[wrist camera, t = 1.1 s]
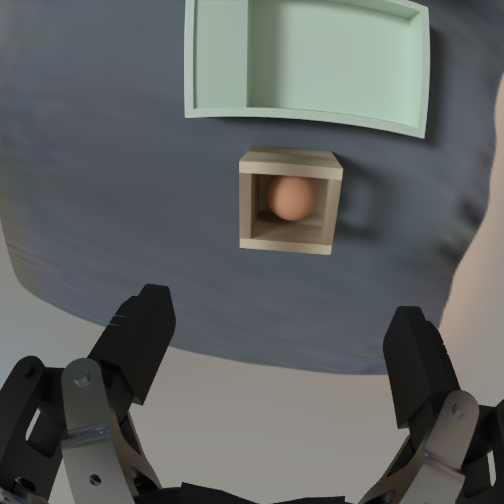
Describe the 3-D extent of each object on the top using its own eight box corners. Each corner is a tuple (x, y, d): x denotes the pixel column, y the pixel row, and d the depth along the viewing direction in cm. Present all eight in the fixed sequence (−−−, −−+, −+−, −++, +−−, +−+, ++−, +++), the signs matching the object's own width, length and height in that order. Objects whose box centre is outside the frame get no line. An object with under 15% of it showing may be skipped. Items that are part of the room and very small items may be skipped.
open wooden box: (251, 214, 23) (239, 247, 19) (251, 145, 20) (239, 161, 16) (323, 220, 23) (330, 254, 18) (331, 151, 20) (343, 169, 15)
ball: (266, 163, 20) (268, 177, 17) (314, 165, 20) (325, 180, 17) (264, 207, 22) (266, 229, 19) (310, 208, 22) (319, 230, 19)
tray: (200, -3, 14) (186, -14, 12) (412, 15, 12) (427, 7, 10) (198, 114, 19) (185, 117, 17) (408, 132, 18) (424, 138, 15)
